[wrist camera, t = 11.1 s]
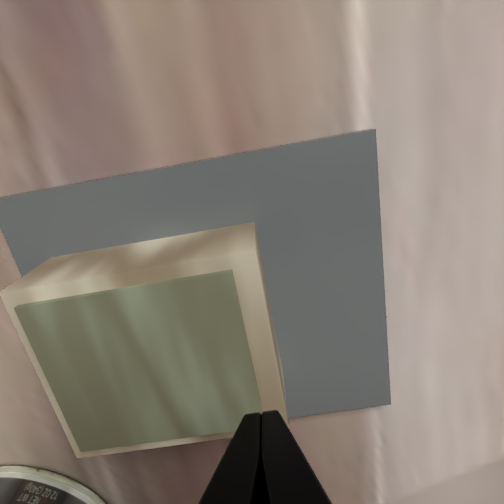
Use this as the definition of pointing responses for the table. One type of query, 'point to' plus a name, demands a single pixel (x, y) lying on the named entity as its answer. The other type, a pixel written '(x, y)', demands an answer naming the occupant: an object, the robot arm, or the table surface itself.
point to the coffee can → (42, 487)
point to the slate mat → (270, 242)
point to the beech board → (152, 340)
